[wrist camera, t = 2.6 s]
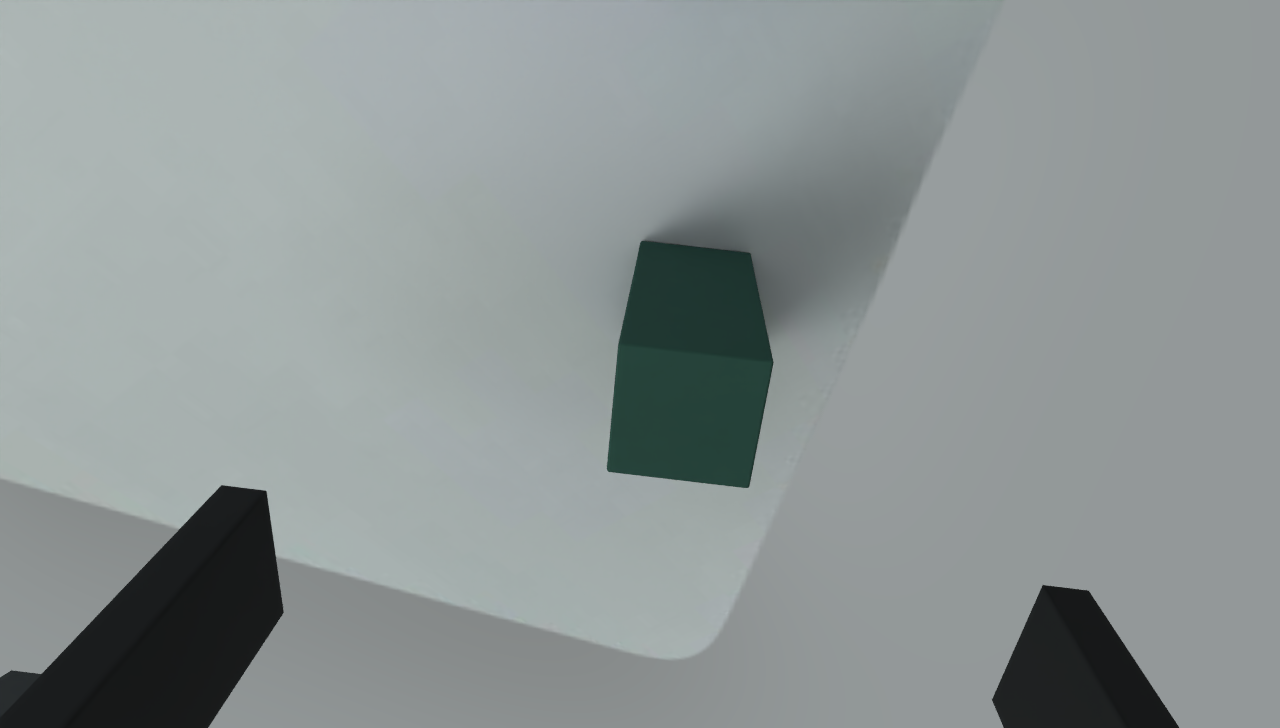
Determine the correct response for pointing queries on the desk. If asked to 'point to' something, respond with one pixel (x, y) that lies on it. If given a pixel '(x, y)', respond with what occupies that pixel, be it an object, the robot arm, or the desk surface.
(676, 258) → the green block
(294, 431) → the desk surface
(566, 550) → the desk surface
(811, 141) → the desk surface
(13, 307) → the desk surface
